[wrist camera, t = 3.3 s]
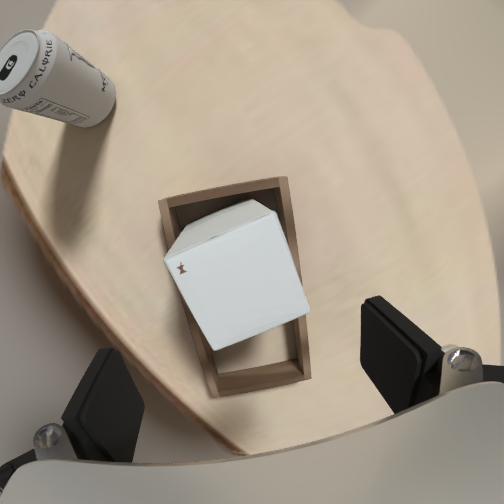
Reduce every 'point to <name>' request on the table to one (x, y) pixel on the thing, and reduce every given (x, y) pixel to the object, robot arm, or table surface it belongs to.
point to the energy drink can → (53, 80)
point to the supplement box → (237, 273)
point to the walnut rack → (300, 366)
